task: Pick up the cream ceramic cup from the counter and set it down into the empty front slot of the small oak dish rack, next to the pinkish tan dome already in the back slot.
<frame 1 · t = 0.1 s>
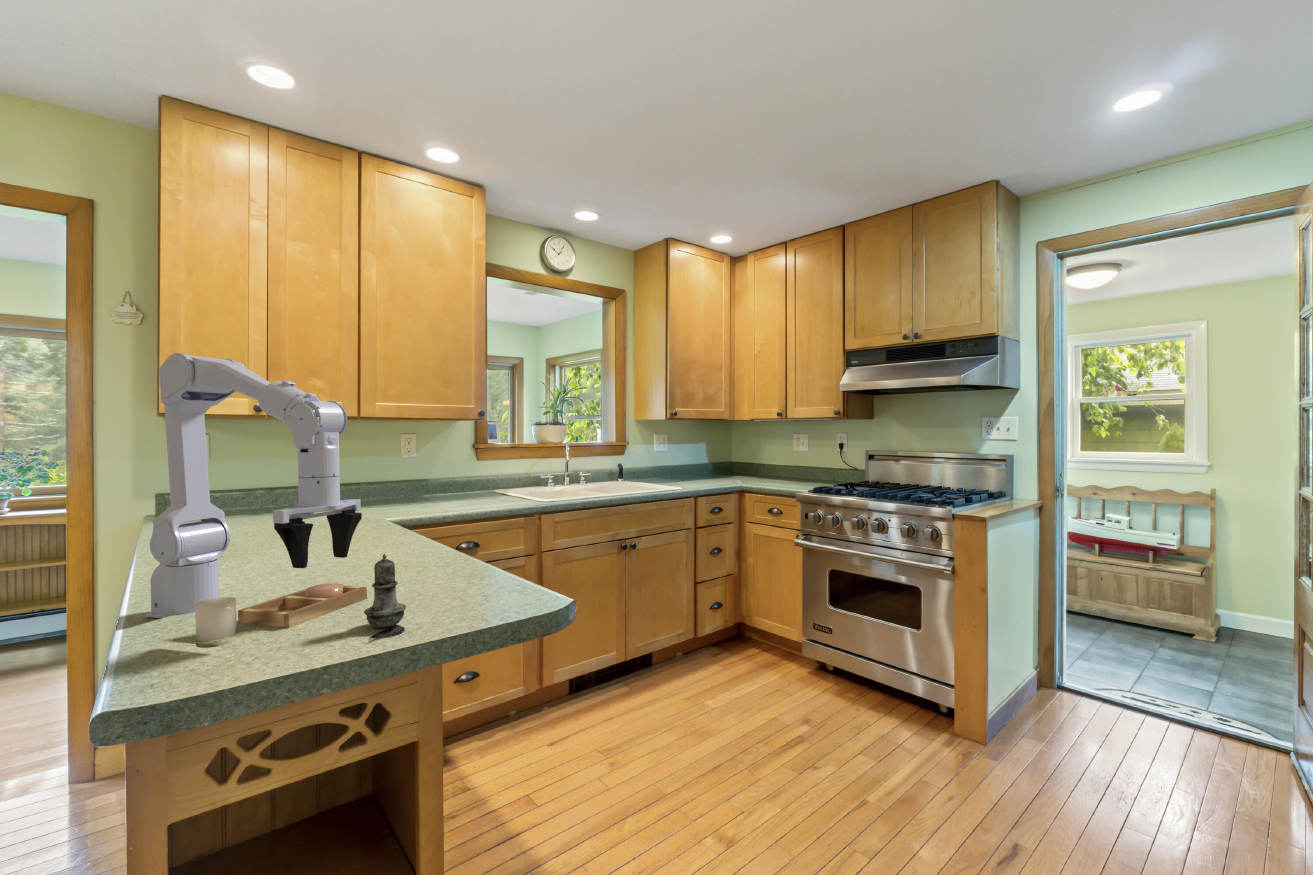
hand: (321, 562, 93), 10 cm above the countertop, tool pointing down, fingers open, 7 cm apart
cup: (216, 641, 87), on the countertop
rack: (306, 615, 98), on the countertop
pinkish tan dome: (324, 603, 102), point 1 cm above the countertop, touching rack
salt shaker: (385, 633, 90), on the countertop
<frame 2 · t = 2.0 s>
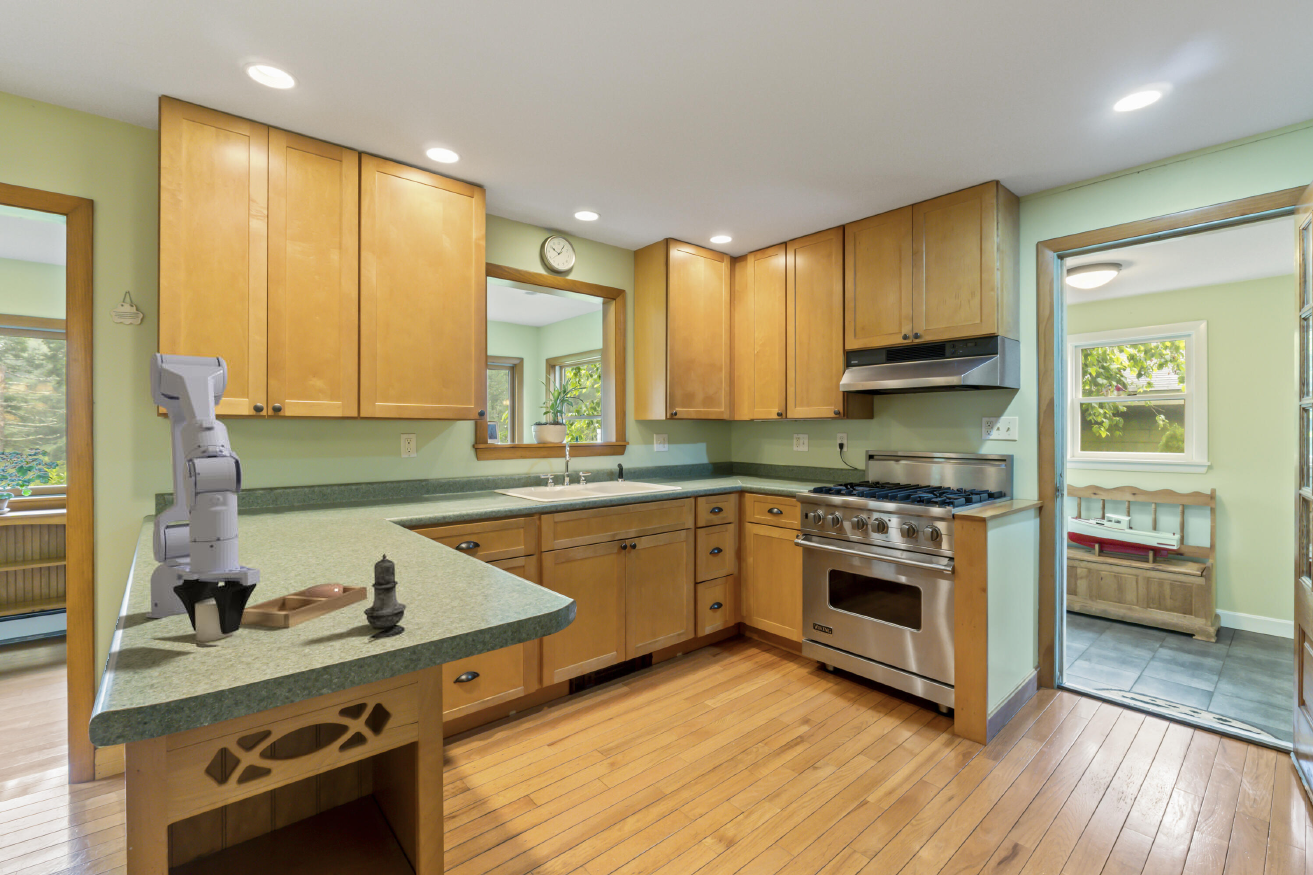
hand: (216, 630, 87), 2 cm above the countertop, tool pointing down, fingers closed on cup, 5 cm apart
cup: (216, 641, 87), on the countertop, touching gripper
everything else where it was.
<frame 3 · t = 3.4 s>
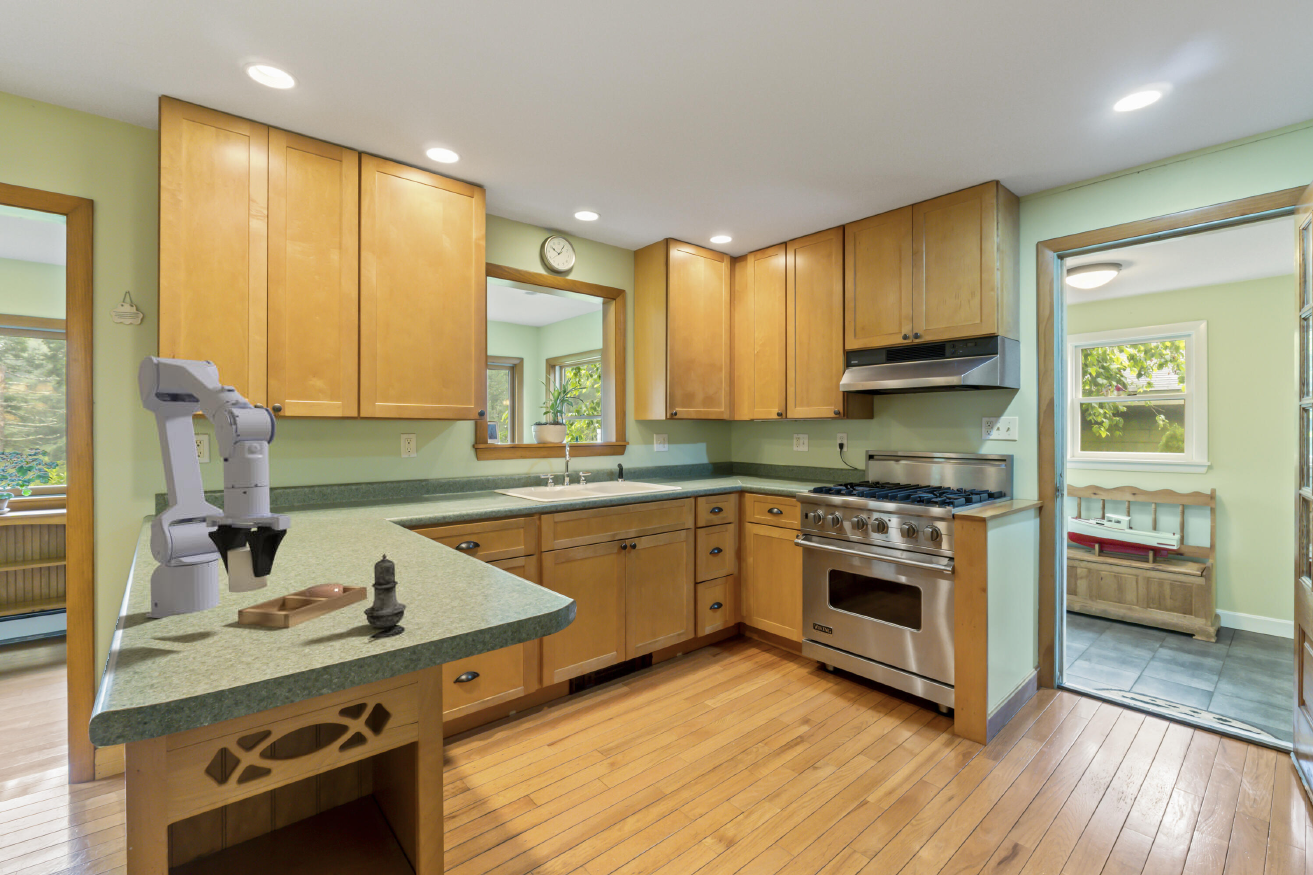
hand: (249, 574, 90), 9 cm above the countertop, tool pointing down, fingers closed on cup, 5 cm apart
cup: (248, 587, 90), point 7 cm above the countertop, touching gripper
everything else where it was.
when the fingers open (4 cm above the countertop, at t = 5.1 s): cup drops 1 cm, resting on rack.
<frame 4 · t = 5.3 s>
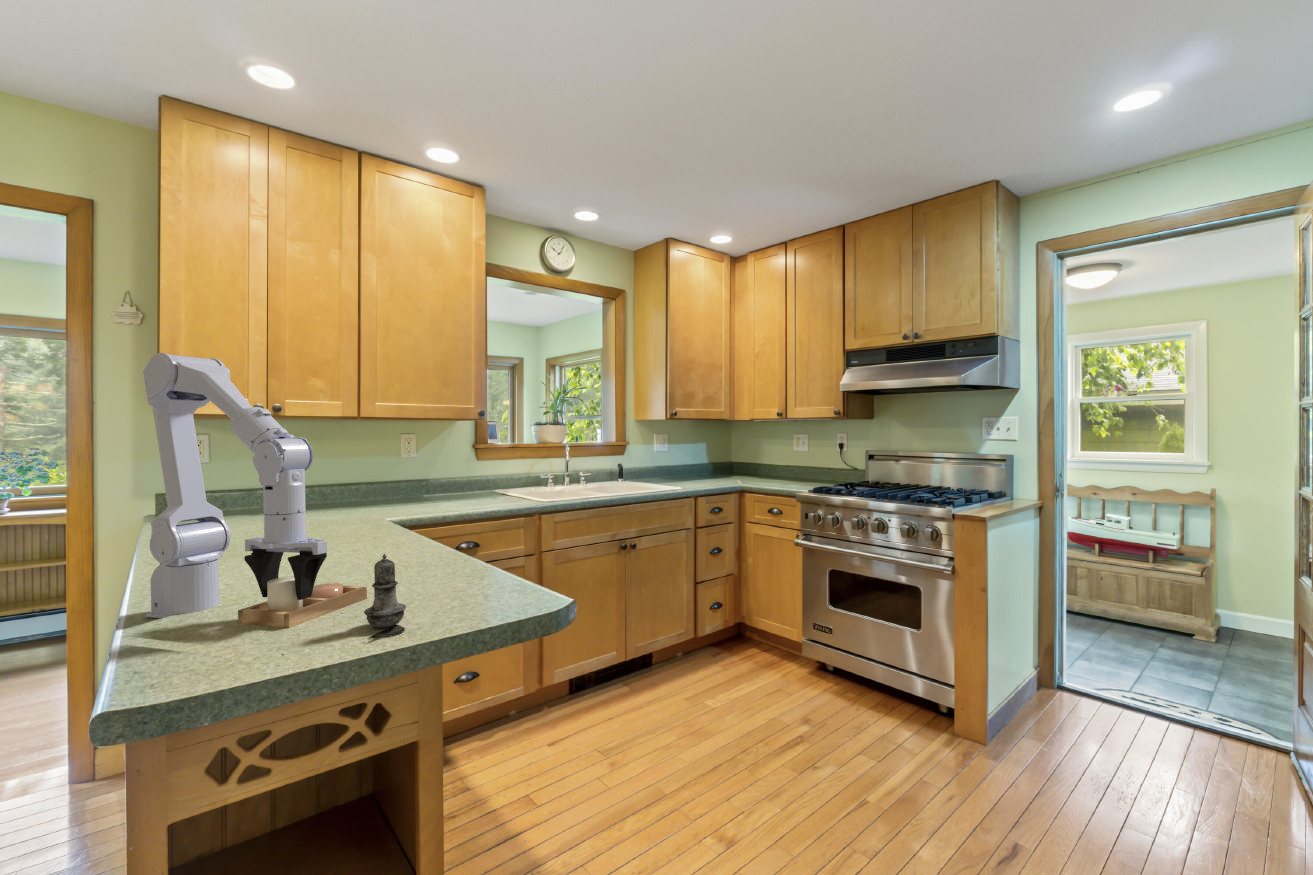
hand: (286, 596, 95), 4 cm above the countertop, tool pointing down, fingers open, 6 cm apart
cup: (285, 617, 95), point 1 cm above the countertop, touching rack
everything else where it was.
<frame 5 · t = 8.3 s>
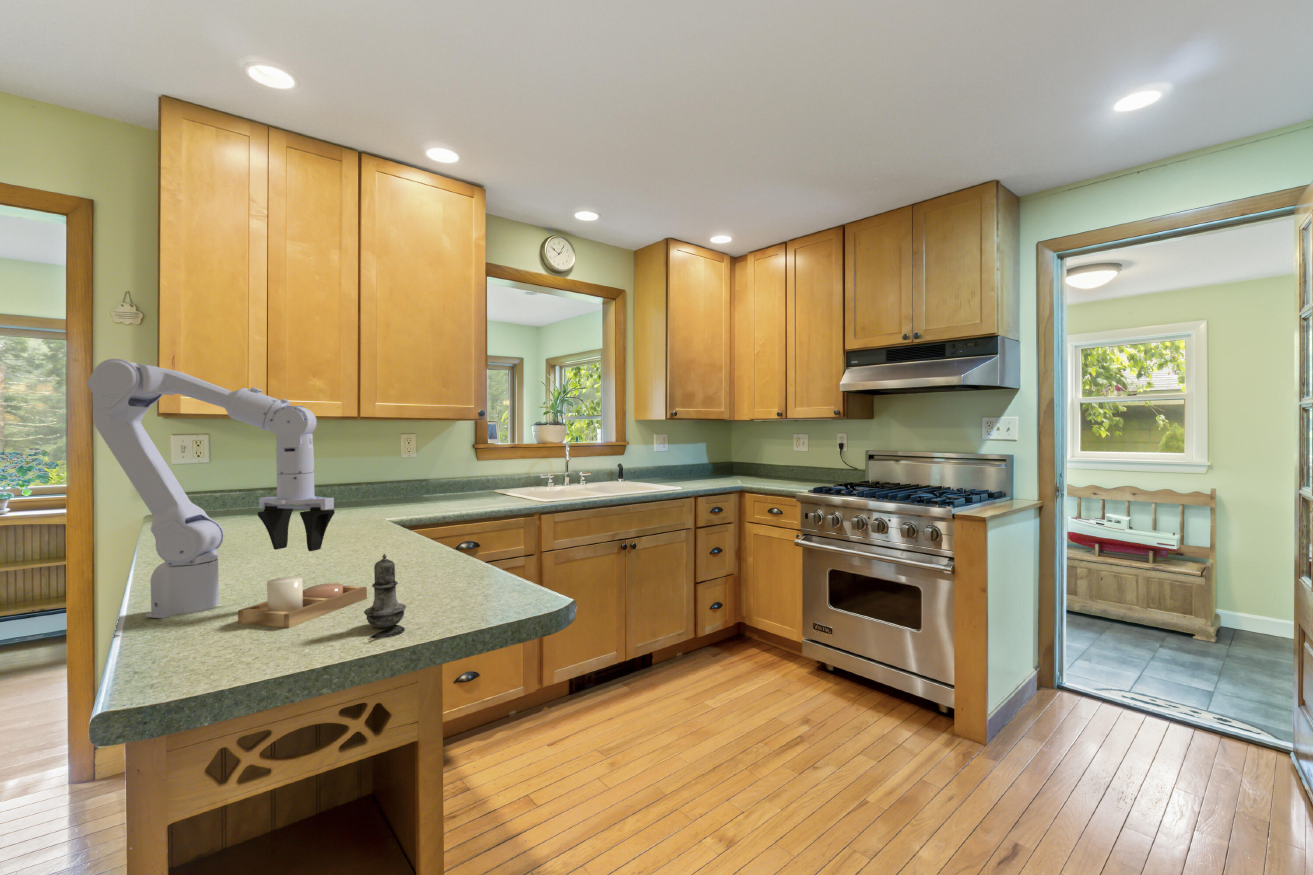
hand: (297, 549, 105), 10 cm above the countertop, tool pointing down, fingers open, 7 cm apart
nothing on the countertop moved.
at the end: cup 0.2 cm from the target spot on the rack, point 1.0 cm above the rack's base; cup tilted 0°; the gripper is holding nothing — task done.
